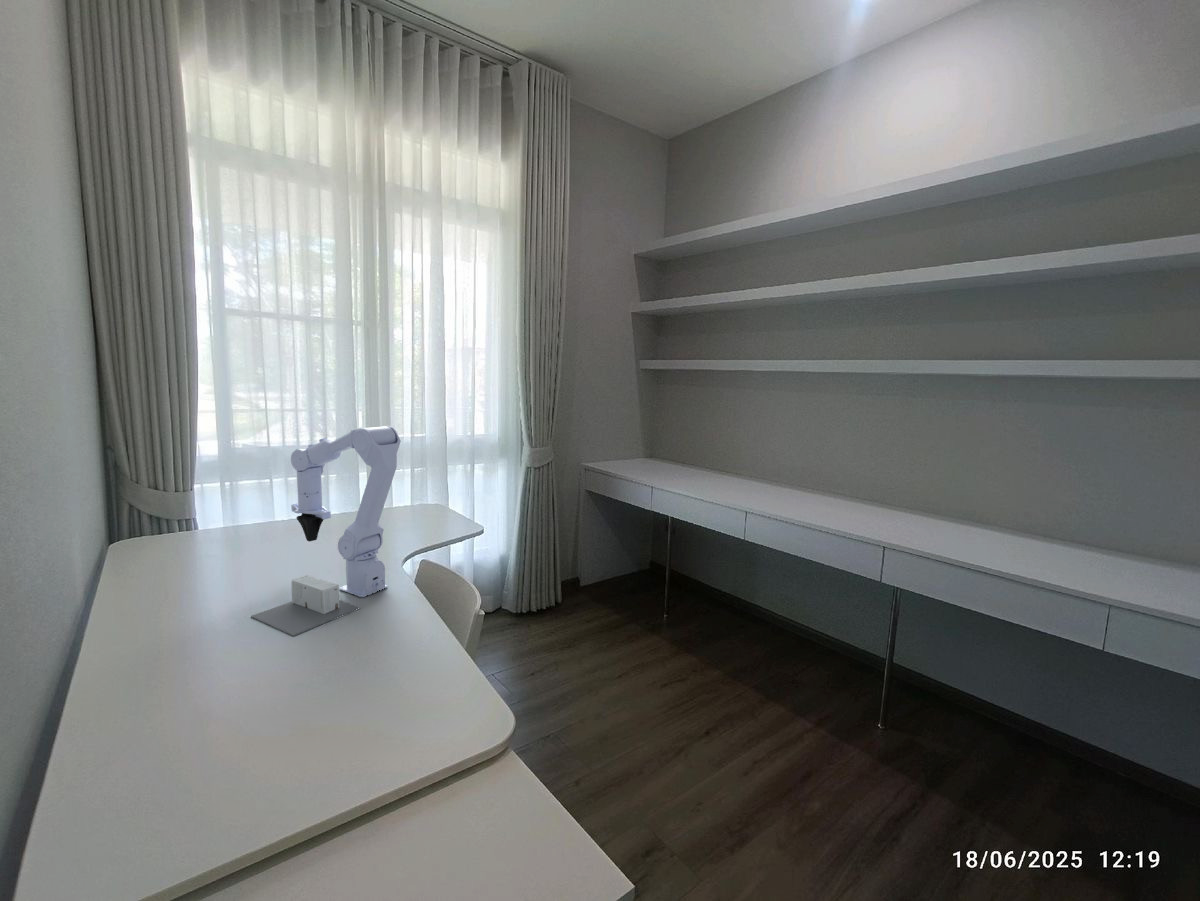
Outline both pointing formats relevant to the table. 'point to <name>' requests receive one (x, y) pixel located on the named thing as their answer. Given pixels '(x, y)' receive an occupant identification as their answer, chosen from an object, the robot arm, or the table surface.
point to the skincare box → (315, 594)
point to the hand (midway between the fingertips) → (311, 540)
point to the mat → (299, 617)
